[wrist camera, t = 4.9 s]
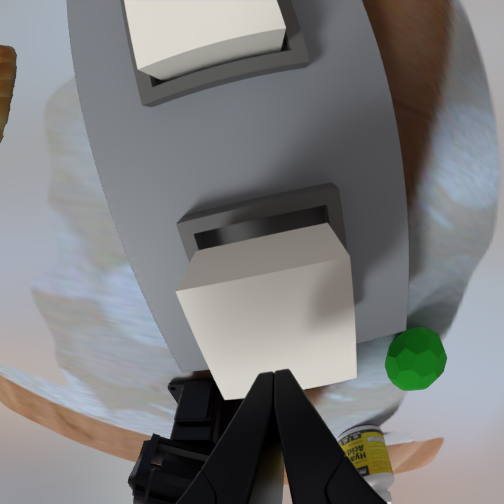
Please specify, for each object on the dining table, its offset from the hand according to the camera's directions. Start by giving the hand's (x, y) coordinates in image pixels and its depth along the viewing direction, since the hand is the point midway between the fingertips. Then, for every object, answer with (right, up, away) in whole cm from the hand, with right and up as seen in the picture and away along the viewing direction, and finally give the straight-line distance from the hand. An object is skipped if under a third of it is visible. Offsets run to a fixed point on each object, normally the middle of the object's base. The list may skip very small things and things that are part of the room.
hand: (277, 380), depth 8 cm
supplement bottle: (+11, -17, +19) cm, 28 cm away
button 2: (-3, +13, +2) cm, 14 cm away
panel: (-1, +10, +8) cm, 13 cm away
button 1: (0, +2, +4) cm, 5 cm away
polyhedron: (+12, -4, +13) cm, 18 cm away
